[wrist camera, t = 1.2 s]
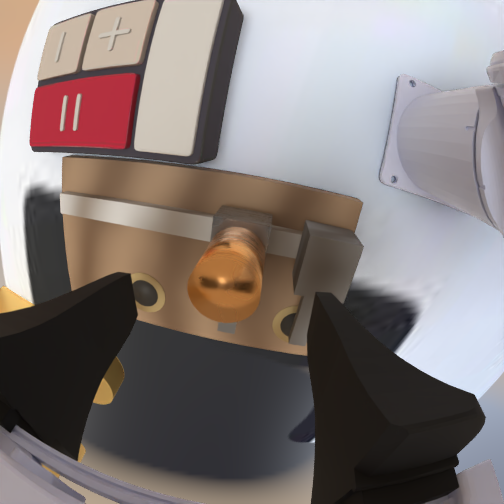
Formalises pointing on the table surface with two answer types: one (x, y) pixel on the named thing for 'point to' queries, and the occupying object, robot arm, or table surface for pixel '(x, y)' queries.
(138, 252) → the board
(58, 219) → the table surface
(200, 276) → the slider leg
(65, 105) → the button panel
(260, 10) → the table surface
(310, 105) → the table surface
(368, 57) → the table surface
